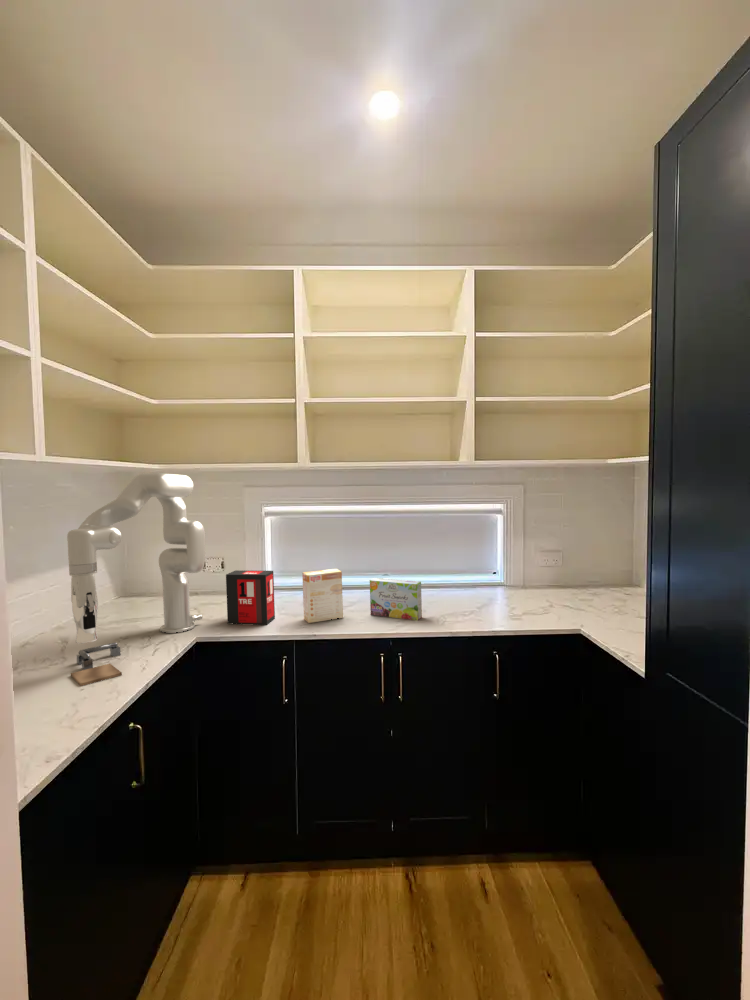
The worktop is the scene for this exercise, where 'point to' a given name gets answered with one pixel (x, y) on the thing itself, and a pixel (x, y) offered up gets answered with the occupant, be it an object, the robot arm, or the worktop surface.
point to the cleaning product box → (250, 597)
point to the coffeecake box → (322, 595)
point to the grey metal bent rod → (85, 657)
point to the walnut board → (95, 674)
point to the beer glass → (78, 614)
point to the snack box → (396, 598)
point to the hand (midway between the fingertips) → (86, 625)
